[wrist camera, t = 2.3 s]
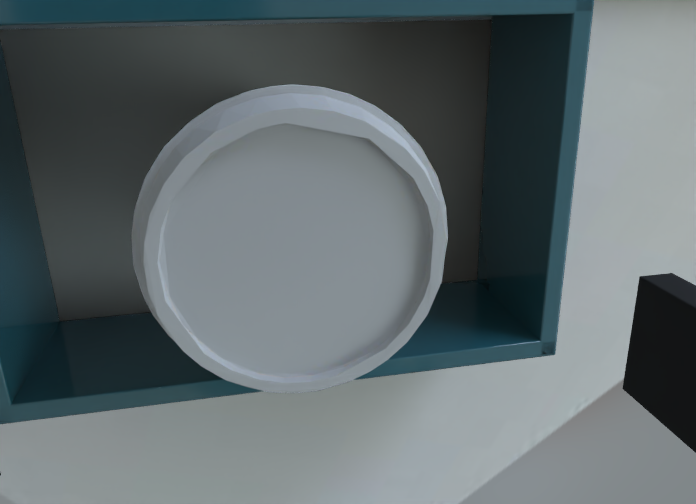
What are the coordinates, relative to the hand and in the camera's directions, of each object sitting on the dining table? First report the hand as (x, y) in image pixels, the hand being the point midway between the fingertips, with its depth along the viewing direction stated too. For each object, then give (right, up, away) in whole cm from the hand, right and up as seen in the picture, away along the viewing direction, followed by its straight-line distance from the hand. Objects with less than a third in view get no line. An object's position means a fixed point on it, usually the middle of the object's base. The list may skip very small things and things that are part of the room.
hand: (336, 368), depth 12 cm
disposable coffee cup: (-3, +6, +16) cm, 18 cm away
